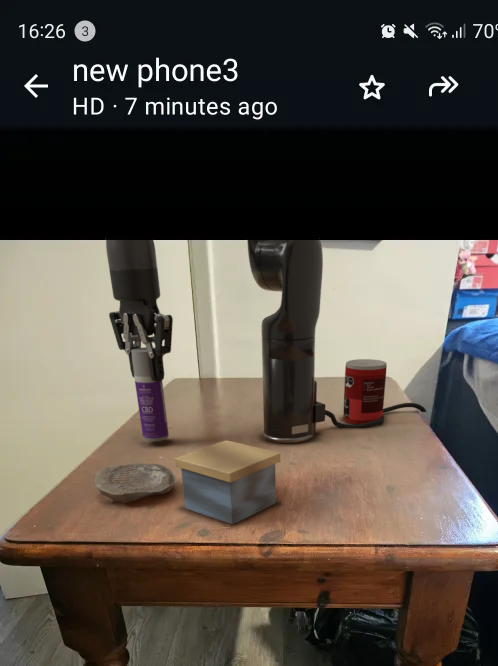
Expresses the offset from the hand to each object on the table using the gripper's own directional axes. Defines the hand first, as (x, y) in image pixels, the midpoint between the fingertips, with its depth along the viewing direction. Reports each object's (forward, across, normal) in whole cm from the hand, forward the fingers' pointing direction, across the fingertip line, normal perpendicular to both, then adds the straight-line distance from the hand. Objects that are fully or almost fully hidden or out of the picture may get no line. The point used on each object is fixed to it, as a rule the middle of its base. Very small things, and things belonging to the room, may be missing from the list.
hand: (148, 378), depth 101 cm
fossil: (+11, -17, +18) cm, 28 cm away
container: (+11, 0, 0) cm, 11 cm away
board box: (+11, -31, +13) cm, 36 cm away
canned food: (+12, -22, -36) cm, 44 cm away
